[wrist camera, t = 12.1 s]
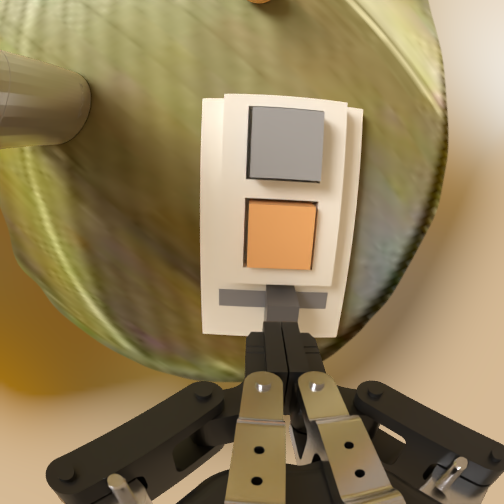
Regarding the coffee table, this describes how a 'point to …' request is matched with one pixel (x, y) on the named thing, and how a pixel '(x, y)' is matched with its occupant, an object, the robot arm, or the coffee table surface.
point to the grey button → (286, 143)
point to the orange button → (280, 234)
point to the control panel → (245, 188)
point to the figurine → (258, 1)
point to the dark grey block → (281, 303)
